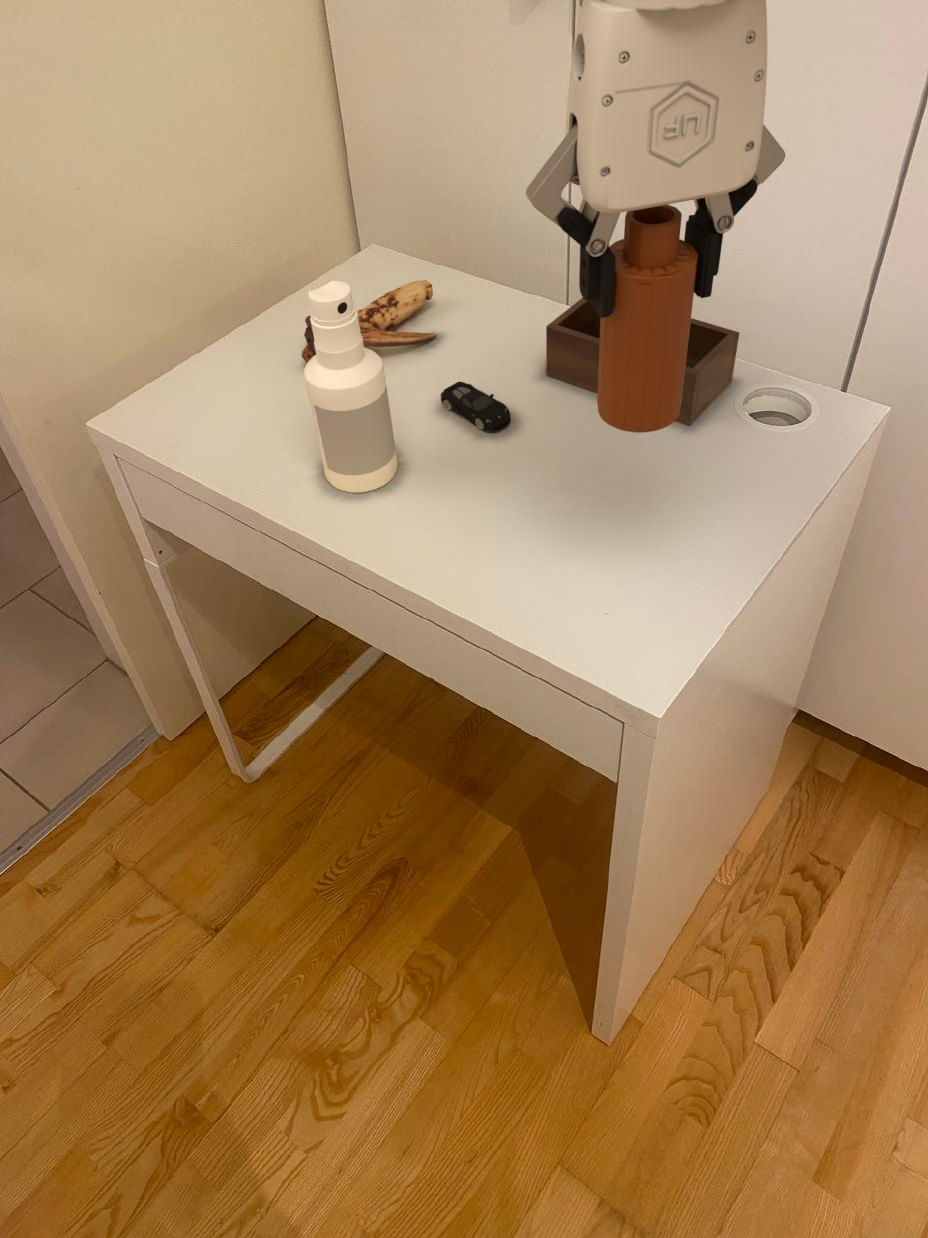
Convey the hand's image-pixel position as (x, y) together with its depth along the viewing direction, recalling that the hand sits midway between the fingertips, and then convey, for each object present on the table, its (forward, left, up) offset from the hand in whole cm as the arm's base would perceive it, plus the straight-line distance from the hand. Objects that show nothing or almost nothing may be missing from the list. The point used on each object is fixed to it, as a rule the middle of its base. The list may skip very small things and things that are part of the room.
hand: (647, 294), depth 60 cm
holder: (+4, -28, -24) cm, 37 cm away
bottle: (0, 0, -8) cm, 8 cm away
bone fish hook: (+32, -30, -25) cm, 50 cm away
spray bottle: (+26, -8, -25) cm, 37 cm away
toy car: (+18, -19, -25) cm, 36 cm away
